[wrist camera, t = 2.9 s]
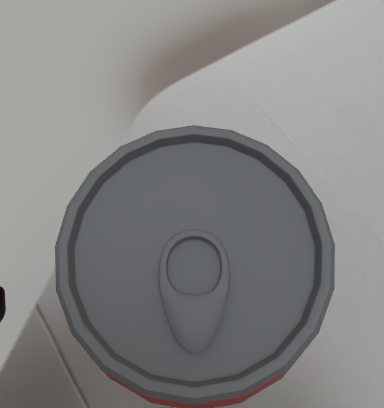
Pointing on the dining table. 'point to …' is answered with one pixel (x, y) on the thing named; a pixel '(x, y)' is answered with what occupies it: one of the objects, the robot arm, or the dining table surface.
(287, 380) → the dining table surface
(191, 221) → the beer can
